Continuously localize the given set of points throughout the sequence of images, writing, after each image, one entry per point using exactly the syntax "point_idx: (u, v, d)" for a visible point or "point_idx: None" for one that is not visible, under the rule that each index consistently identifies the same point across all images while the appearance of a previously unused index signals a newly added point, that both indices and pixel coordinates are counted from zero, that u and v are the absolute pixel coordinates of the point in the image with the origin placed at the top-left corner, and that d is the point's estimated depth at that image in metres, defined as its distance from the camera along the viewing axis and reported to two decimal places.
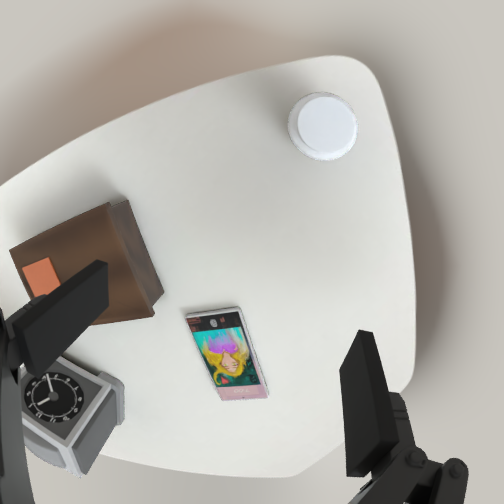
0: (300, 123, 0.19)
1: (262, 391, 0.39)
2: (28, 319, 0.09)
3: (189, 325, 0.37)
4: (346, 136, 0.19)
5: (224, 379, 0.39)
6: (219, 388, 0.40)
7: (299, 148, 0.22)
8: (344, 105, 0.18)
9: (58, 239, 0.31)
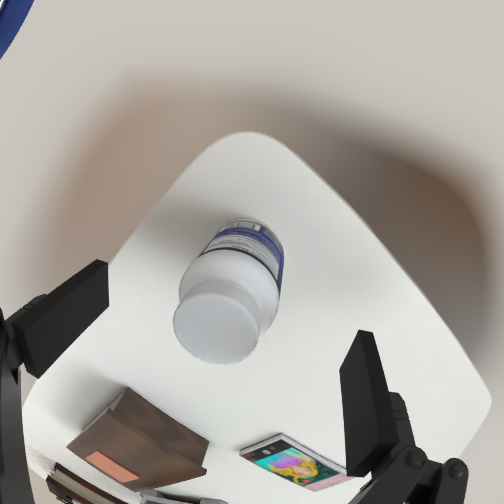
0: (185, 345, 0.14)
1: (345, 476, 0.31)
2: (28, 319, 0.09)
3: (247, 458, 0.32)
4: (247, 334, 0.13)
5: (305, 480, 0.32)
6: (306, 486, 0.33)
7: None
8: (217, 298, 0.13)
9: (94, 439, 0.29)
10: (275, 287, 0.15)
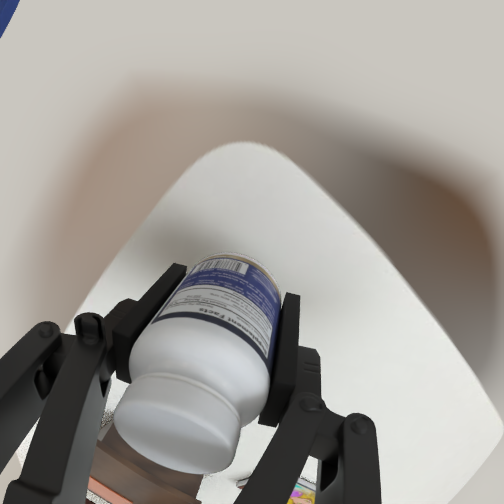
0: (135, 447, 0.08)
1: None
2: (130, 325, 0.11)
3: None
4: (218, 452, 0.08)
5: None
6: None
7: None
8: (168, 410, 0.07)
9: None
10: (264, 373, 0.10)
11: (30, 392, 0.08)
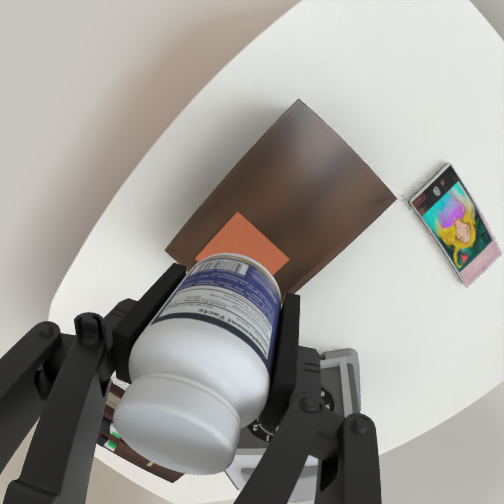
0: (135, 448, 0.08)
1: (495, 248, 0.30)
2: (130, 325, 0.11)
3: (417, 209, 0.31)
4: (218, 453, 0.08)
5: (463, 256, 0.32)
6: (462, 272, 0.32)
7: None
8: (167, 411, 0.07)
9: (247, 177, 0.29)
10: (264, 374, 0.10)
11: (30, 392, 0.08)
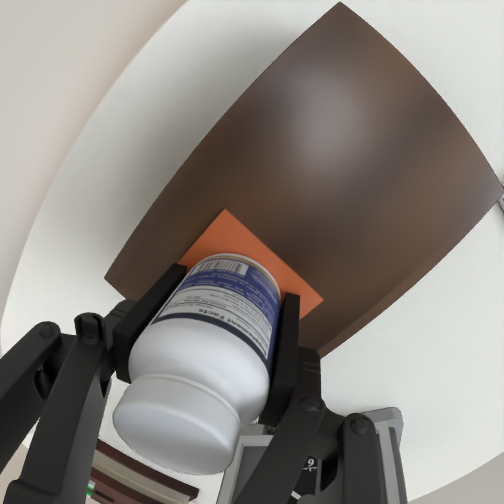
0: (135, 448, 0.08)
1: None
2: (130, 325, 0.11)
3: None
4: (218, 453, 0.08)
5: None
6: None
7: None
8: (167, 411, 0.07)
9: (243, 141, 0.14)
10: (263, 374, 0.10)
11: (30, 392, 0.08)
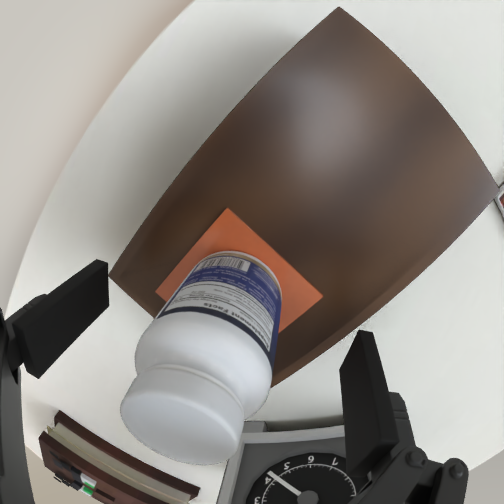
0: (141, 439, 0.09)
1: None
2: (28, 319, 0.09)
3: None
4: (222, 442, 0.08)
5: None
6: None
7: None
8: (174, 400, 0.08)
9: (244, 142, 0.14)
10: (266, 365, 0.10)
11: None
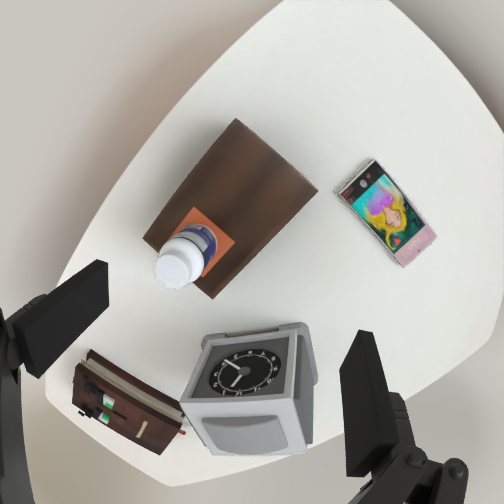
0: (159, 279, 0.32)
1: (429, 232, 0.39)
2: (28, 319, 0.09)
3: (346, 199, 0.40)
4: (184, 272, 0.31)
5: (396, 239, 0.40)
6: (396, 254, 0.41)
7: None
8: (171, 256, 0.31)
9: (199, 180, 0.38)
10: (200, 255, 0.33)
11: None
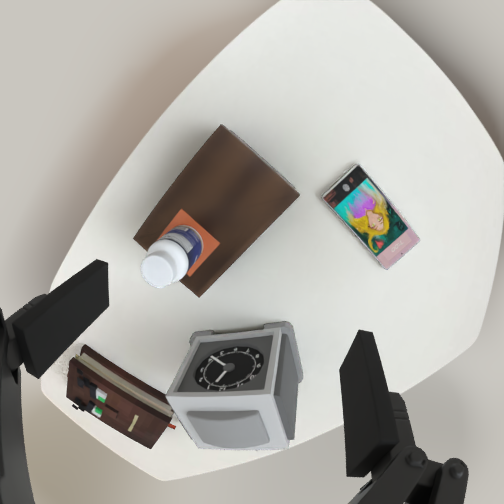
0: (145, 278, 0.33)
1: (412, 235, 0.41)
2: (28, 319, 0.09)
3: (328, 203, 0.41)
4: (168, 272, 0.33)
5: (379, 242, 0.42)
6: (379, 256, 0.43)
7: None
8: (156, 257, 0.32)
9: (186, 184, 0.39)
10: (185, 255, 0.35)
11: None
